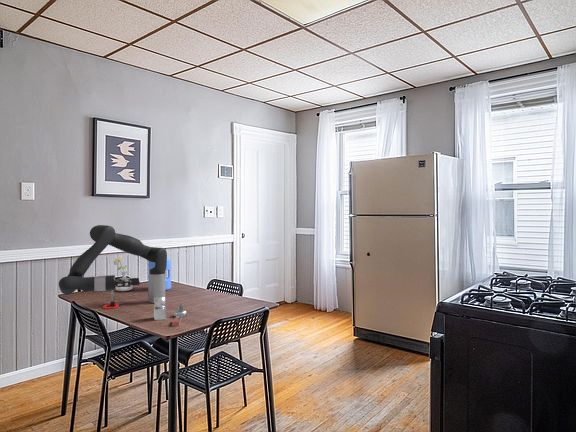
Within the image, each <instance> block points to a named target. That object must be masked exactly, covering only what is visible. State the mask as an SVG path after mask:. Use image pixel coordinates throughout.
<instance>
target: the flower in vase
mask: <svg viewBox="0 0 576 432" xmlns="http://www.w3.org/2000/svg"><path fill="white" fill-rule="evenodd" d="M122 260H123V256H122V255H121V254H120V255H118V256H117V257H116V258H115V259H114V260H113V265H115V266H118V265H119V264H120V266H118V267H117V269H116V270H117V271H120V273H121V275H122V277H121V278H127V274H128V272H129V270H128V269H127V268H128V267H127V264H126V265H124V266H122V263H121V262H122ZM121 269H122V270H121ZM126 269H127V270H126ZM133 289H134V285H132V286H130V287H117V286H115V291H118V292H127V291H131V290H133Z"/></svg>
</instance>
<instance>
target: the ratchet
mask: <svg viewBox="0 0 576 432" xmlns="http://www.w3.org/2000/svg"><path fill="white" fill-rule="evenodd" d="M183 306H184V305H183V303H178V307H177V308H178V310H174V311H173V312H174V313H173V316H174V318H173V319H172V322H171V327H180V324H181V322H182V319H183V318H186V317H188V316H187V315H188V313H187V310H186V309H184V308H183Z"/></svg>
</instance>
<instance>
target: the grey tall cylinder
mask: <svg viewBox="0 0 576 432" xmlns="http://www.w3.org/2000/svg"><path fill="white" fill-rule="evenodd" d="M153 305H154V306H153V319H154V321H158V320H159V321H161V320H167V307H166V295H165V296H157V297H154V303H153Z"/></svg>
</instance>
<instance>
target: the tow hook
mask: <svg viewBox="0 0 576 432" xmlns="http://www.w3.org/2000/svg"><path fill="white" fill-rule="evenodd" d="M114 291H115V290H112V291H110V292H111V294H110V295H111V297H110V299H111V300H110V303H106V305H103V306H102V309H104V310H114V309H117V308H119V305H120V303H119V302H118V303H117V302H115V301H116V300H115V296H114V295H115V293H114Z"/></svg>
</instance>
